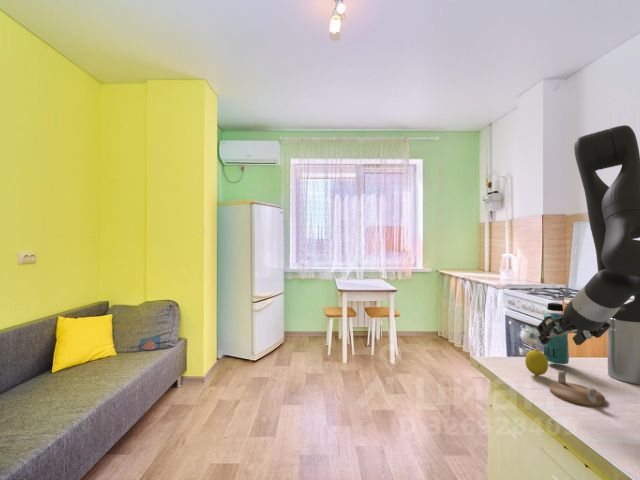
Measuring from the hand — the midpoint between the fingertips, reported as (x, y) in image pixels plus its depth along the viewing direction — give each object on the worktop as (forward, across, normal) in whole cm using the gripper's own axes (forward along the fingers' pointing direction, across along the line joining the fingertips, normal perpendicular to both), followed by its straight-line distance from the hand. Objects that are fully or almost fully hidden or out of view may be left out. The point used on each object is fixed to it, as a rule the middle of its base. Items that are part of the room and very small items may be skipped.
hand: (558, 341), depth 83 cm
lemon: (+16, 0, +3) cm, 17 cm away
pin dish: (+8, -3, +11) cm, 14 cm away
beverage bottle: (+23, -11, -4) cm, 26 cm away
